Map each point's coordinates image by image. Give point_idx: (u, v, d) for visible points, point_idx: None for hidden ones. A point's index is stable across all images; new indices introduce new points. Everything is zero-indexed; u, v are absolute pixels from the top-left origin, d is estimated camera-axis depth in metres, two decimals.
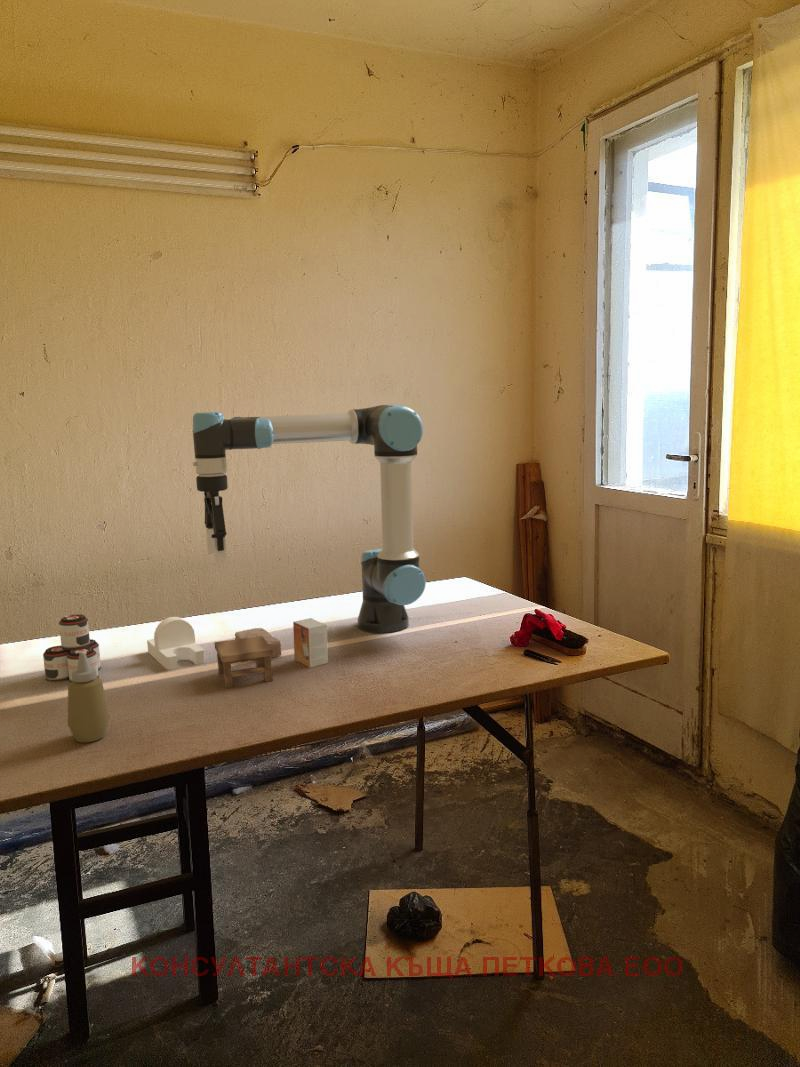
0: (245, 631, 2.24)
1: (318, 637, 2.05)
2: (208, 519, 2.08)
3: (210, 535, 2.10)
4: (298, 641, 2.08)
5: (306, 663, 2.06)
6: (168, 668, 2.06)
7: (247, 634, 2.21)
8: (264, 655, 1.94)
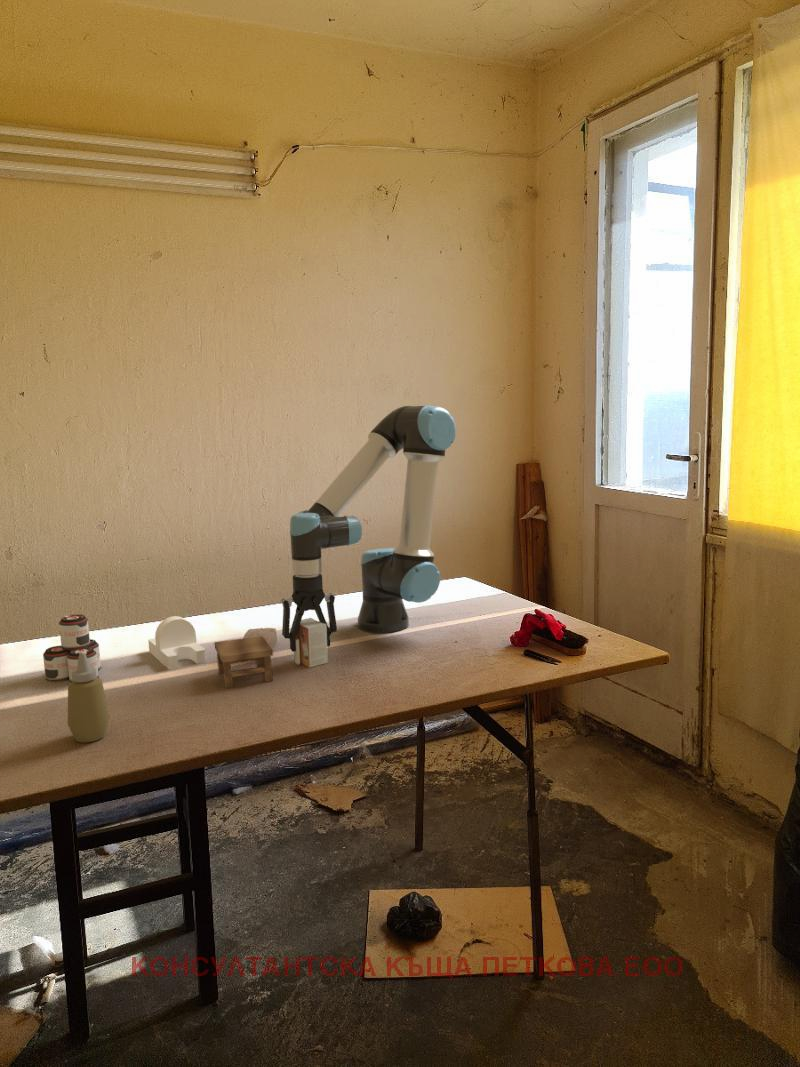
0: (257, 629, 2.25)
1: (317, 637, 2.05)
2: (319, 621, 2.09)
3: None
4: None
5: (306, 663, 2.06)
6: (169, 667, 2.06)
7: (254, 633, 2.22)
8: (264, 655, 1.94)
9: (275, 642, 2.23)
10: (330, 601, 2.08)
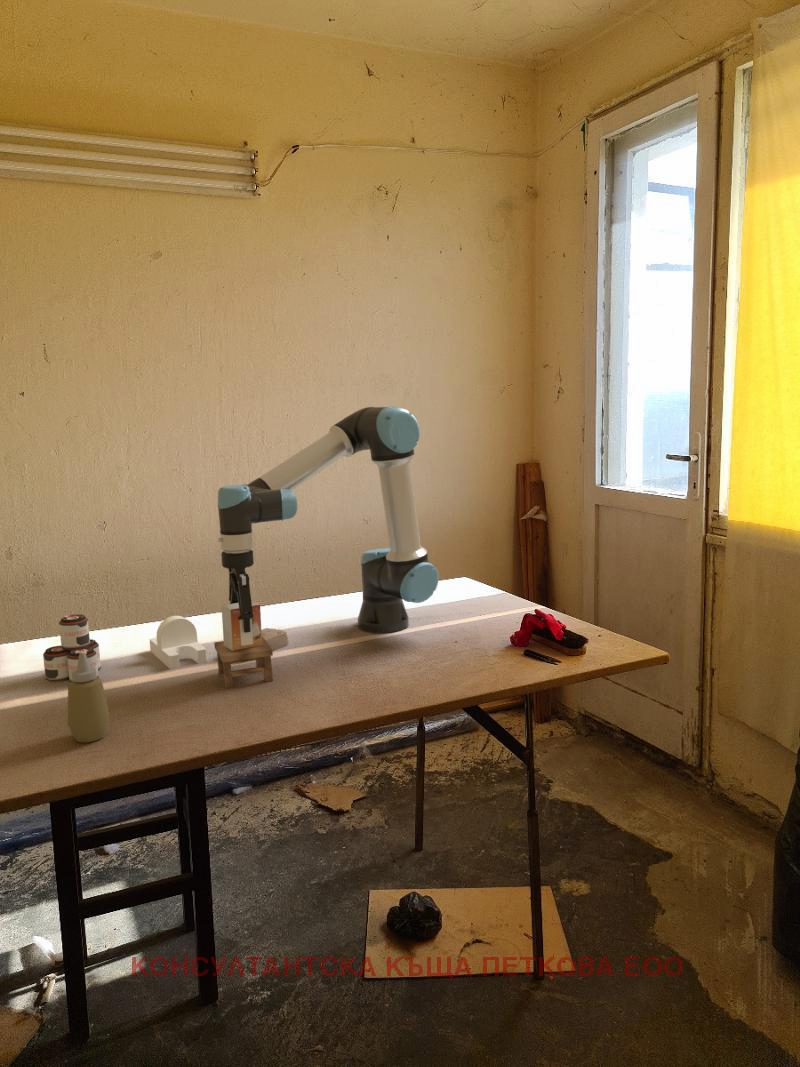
0: (269, 629, 2.25)
1: None
2: (233, 596, 2.00)
3: None
4: None
5: (256, 643, 1.97)
6: (170, 667, 2.07)
7: (262, 632, 2.23)
8: (264, 655, 1.94)
9: (280, 645, 2.21)
10: None
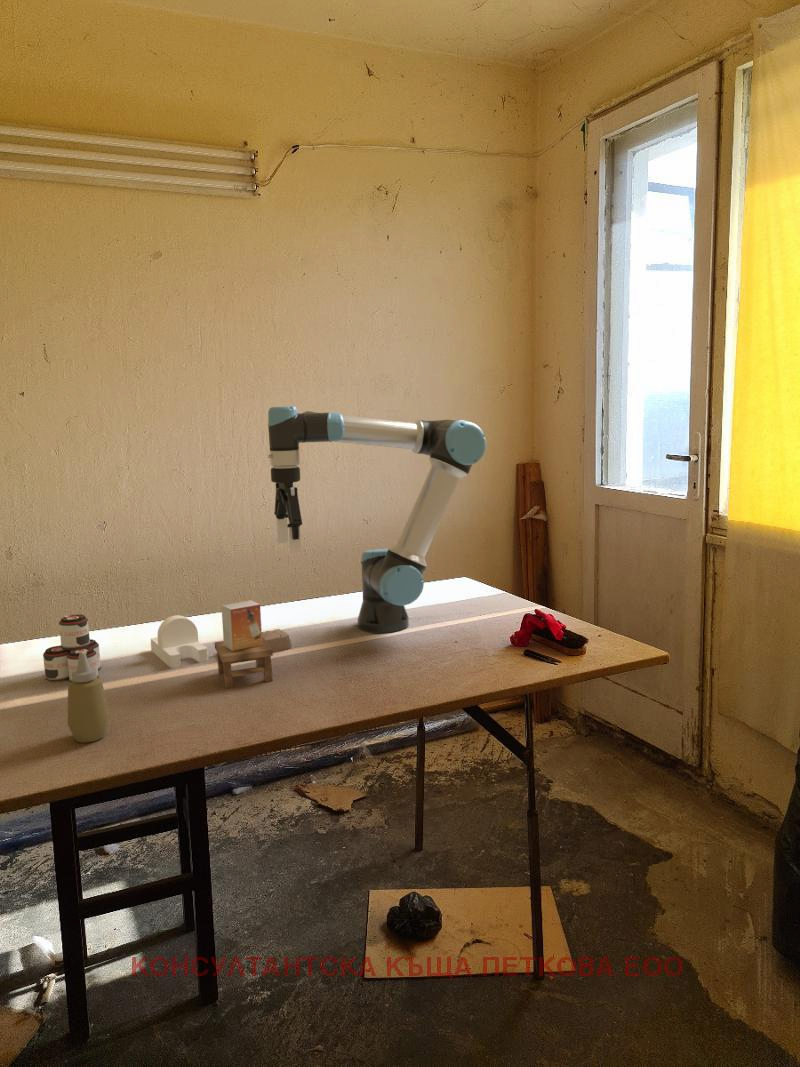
0: (277, 631, 2.23)
1: None
2: (279, 510, 2.16)
3: (280, 525, 2.18)
4: (242, 626, 1.94)
5: (256, 643, 1.97)
6: (171, 666, 2.07)
7: (267, 633, 2.22)
8: (264, 655, 1.94)
9: (279, 648, 2.18)
10: None
